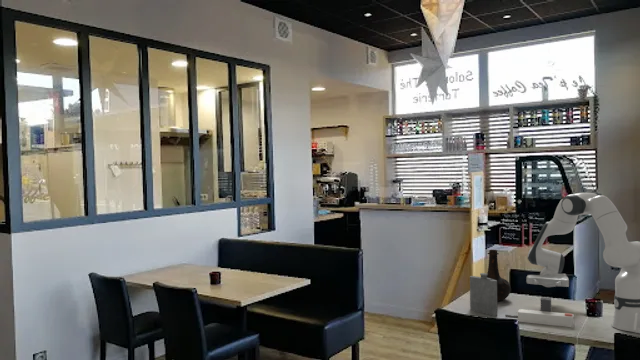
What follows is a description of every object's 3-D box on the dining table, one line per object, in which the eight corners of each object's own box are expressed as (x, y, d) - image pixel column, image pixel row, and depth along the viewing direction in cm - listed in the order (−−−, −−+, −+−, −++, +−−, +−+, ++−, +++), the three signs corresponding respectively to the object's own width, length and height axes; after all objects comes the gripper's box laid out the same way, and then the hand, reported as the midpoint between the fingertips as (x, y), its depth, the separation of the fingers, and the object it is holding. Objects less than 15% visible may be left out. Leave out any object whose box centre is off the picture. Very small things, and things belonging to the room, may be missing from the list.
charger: (541, 317, 257) (541, 297, 257) (551, 318, 256) (551, 297, 255) (540, 320, 251) (540, 300, 251) (550, 321, 249) (550, 301, 249)
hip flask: (469, 309, 275) (468, 271, 274) (474, 308, 277) (473, 270, 277) (494, 316, 262) (494, 276, 261) (499, 314, 264) (499, 275, 264)
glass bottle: (500, 305, 283) (500, 253, 283) (471, 299, 296) (470, 250, 296) (516, 299, 295) (516, 249, 295) (488, 294, 308) (487, 246, 308)
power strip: (506, 317, 260) (506, 306, 260) (573, 323, 247) (573, 312, 246) (504, 320, 254) (504, 309, 254) (573, 327, 241) (573, 315, 241)
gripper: (527, 271, 282) (524, 276, 270) (569, 274, 273) (568, 279, 261) (527, 282, 282) (524, 288, 270) (569, 286, 273) (568, 291, 261)
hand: (546, 283), depth 265 cm, fingers open, 8 cm apart
